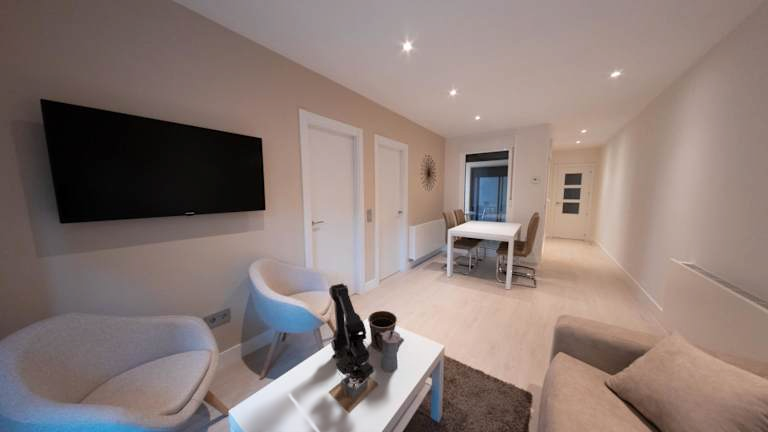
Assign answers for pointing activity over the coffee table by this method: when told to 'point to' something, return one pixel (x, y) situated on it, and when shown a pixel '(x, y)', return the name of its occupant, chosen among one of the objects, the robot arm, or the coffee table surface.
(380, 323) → the plant pot
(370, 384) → the board
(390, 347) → the moka pot
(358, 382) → the plunger
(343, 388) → the press
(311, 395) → the coffee table surface
